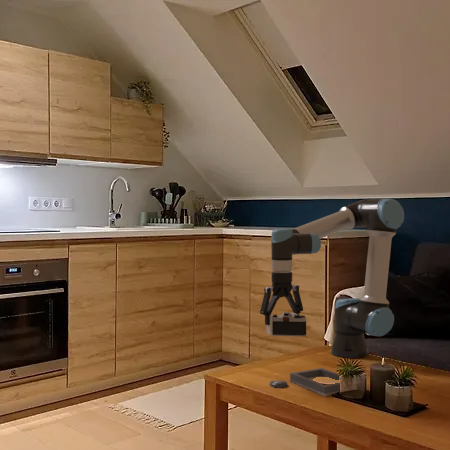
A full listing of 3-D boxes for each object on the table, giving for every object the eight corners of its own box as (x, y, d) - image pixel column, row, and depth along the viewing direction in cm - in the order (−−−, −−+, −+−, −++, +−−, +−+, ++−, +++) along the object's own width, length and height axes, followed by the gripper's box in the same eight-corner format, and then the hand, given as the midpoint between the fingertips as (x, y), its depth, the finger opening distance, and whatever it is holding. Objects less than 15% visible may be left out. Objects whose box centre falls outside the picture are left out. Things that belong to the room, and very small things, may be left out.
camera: (307, 332, 223) (305, 308, 223) (307, 336, 216) (305, 311, 216) (271, 334, 225) (269, 310, 225) (270, 338, 217) (268, 313, 217)
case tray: (321, 376, 221) (321, 367, 220) (357, 389, 204) (357, 380, 204) (290, 381, 214) (290, 373, 214) (324, 396, 197) (324, 387, 197)
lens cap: (280, 382, 213) (280, 378, 213) (290, 387, 208) (290, 382, 208) (266, 385, 210) (266, 381, 210) (276, 389, 205) (276, 385, 205)
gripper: (301, 268, 230) (301, 327, 230) (249, 272, 219) (249, 333, 219) (313, 270, 223) (313, 331, 224) (260, 274, 212) (261, 337, 213)
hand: (281, 332), depth 222 cm, fingers closed on camera, 10 cm apart
